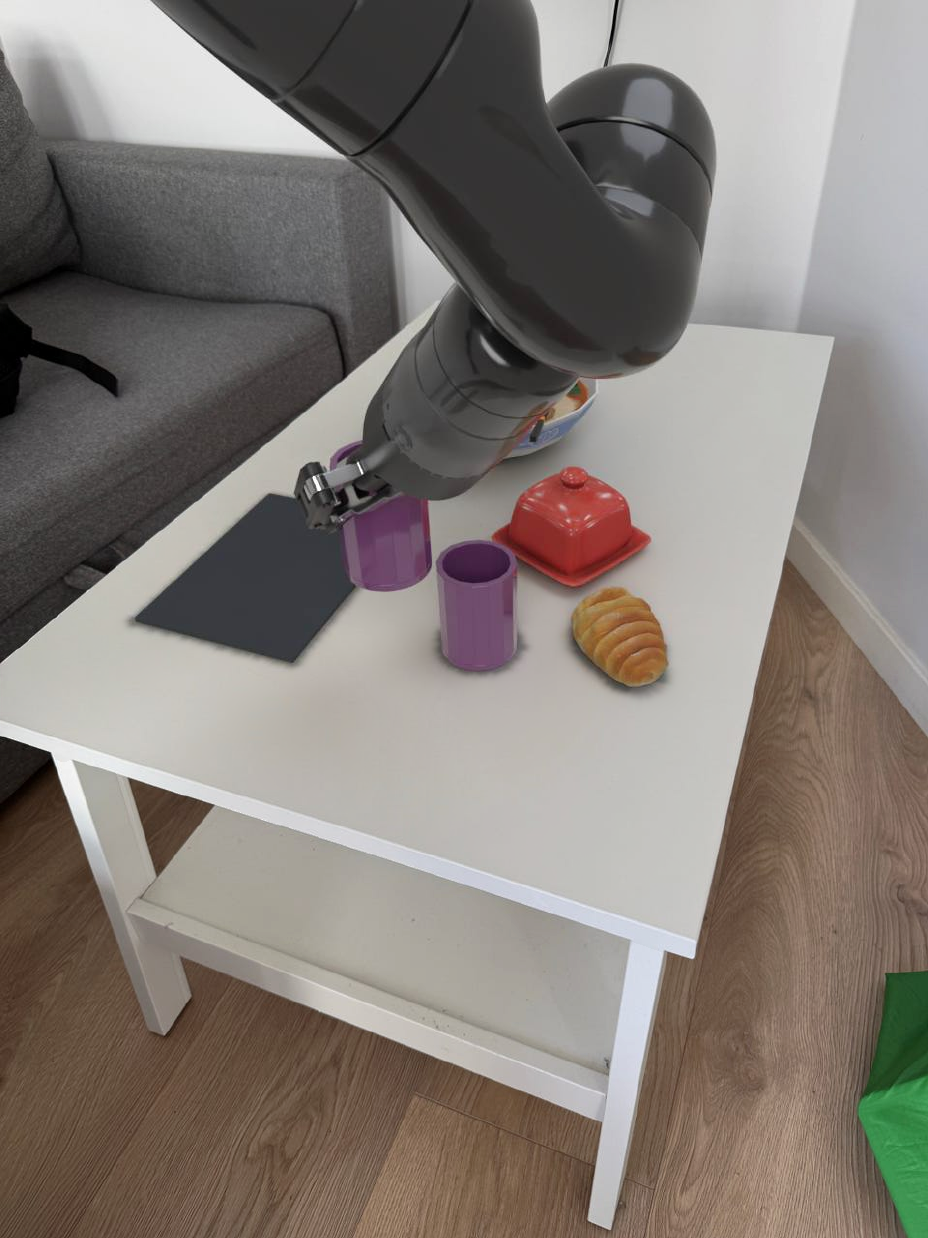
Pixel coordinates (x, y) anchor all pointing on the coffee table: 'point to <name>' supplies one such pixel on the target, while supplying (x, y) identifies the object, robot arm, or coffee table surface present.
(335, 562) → the mat
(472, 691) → the coffee table surface
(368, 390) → the coffee table surface
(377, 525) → the plum cup front
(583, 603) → the pastry
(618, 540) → the butter dish
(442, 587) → the plum cup side
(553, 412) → the ramen bowl
